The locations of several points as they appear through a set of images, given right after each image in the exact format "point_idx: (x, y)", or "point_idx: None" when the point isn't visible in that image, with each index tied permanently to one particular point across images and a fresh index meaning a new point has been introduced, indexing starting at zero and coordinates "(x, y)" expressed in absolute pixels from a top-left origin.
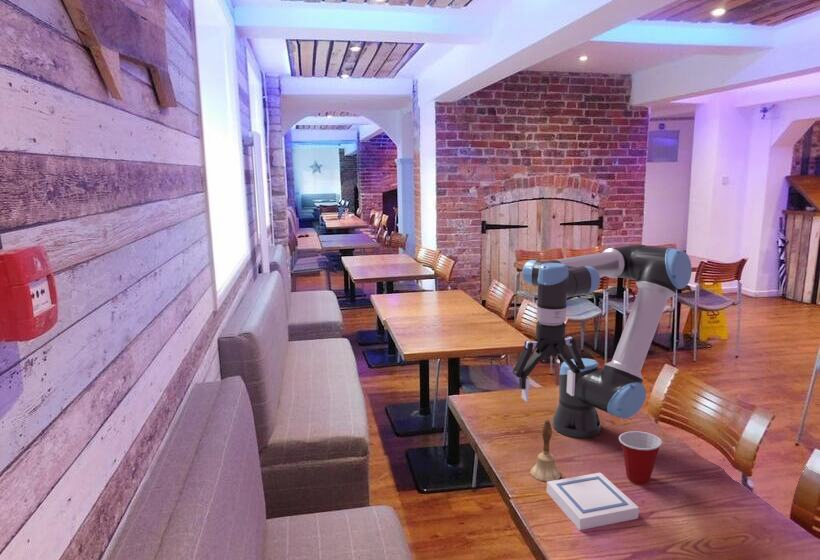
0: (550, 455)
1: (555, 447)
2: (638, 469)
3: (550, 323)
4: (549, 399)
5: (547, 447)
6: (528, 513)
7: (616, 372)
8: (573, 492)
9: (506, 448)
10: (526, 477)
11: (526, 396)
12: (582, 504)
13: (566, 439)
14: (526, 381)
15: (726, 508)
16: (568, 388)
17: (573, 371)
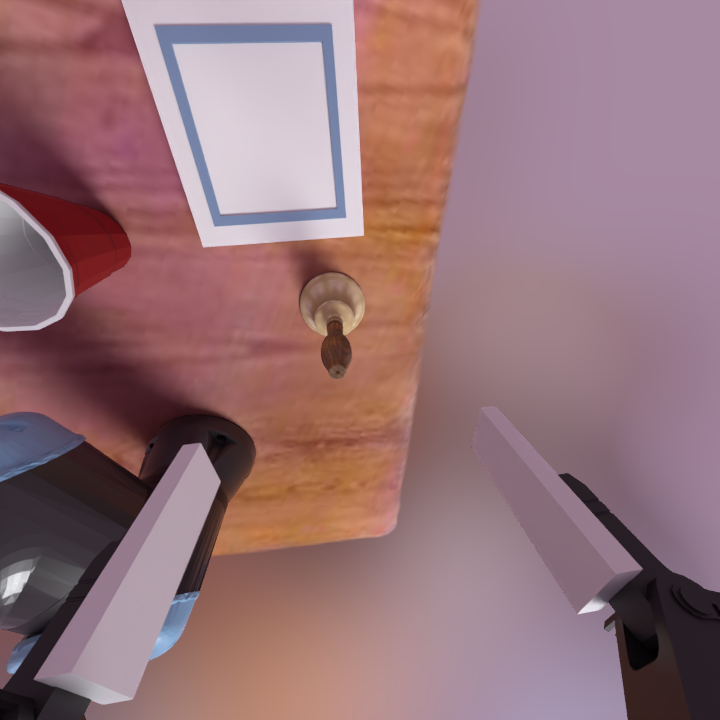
0: (325, 315)
1: (275, 392)
2: (65, 203)
3: None
4: (233, 526)
5: (334, 324)
6: (439, 153)
7: None
8: (314, 163)
9: (373, 399)
10: (378, 299)
11: (513, 429)
12: (312, 83)
13: (241, 414)
14: (612, 538)
15: None
16: (201, 499)
17: (53, 703)
